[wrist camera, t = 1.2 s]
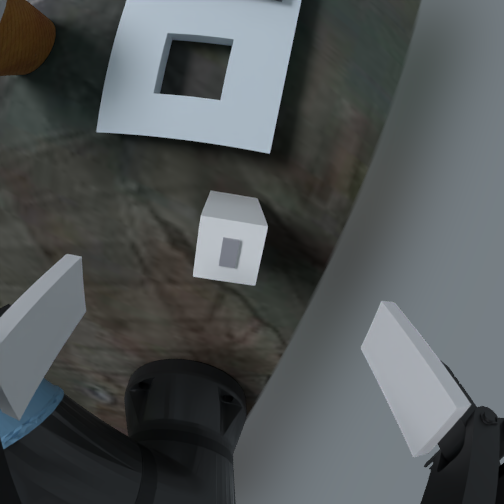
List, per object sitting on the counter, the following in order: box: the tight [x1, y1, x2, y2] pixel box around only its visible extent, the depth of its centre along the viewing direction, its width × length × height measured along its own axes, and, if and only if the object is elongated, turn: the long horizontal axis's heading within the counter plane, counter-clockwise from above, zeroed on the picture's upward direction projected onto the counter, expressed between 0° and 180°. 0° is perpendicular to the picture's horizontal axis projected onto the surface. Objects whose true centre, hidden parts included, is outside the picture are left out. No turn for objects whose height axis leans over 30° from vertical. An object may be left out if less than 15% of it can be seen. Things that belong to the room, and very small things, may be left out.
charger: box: [193, 191, 268, 286], centre depth 22 cm, size 4×4×8 cm
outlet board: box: [96, 0, 301, 154], centre depth 18 cm, size 22×14×2 cm, turn 169°
